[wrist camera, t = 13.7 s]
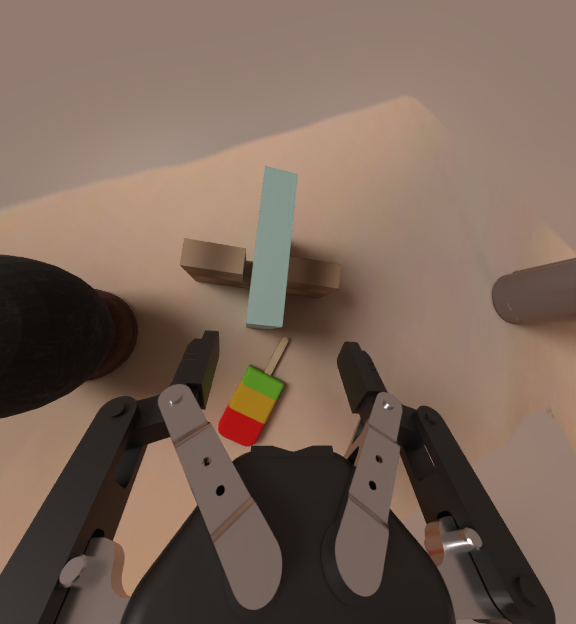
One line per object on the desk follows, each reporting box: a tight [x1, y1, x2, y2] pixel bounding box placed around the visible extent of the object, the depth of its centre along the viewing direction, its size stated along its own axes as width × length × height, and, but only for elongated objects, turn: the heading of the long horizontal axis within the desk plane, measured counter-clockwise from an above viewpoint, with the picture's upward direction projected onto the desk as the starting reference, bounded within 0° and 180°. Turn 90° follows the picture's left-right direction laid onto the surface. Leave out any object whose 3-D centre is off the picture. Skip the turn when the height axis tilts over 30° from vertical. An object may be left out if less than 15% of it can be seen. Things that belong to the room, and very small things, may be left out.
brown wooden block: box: [180, 238, 341, 298], centre depth 27 cm, size 18×3×7 cm, turn 84°
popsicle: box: [218, 337, 288, 446], centre depth 29 cm, size 6×15×2 cm, turn 152°
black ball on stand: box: [0, 255, 138, 418], centre depth 19 cm, size 13×13×15 cm
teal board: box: [246, 166, 298, 329], centre depth 24 cm, size 14×3×13 cm, turn 174°
